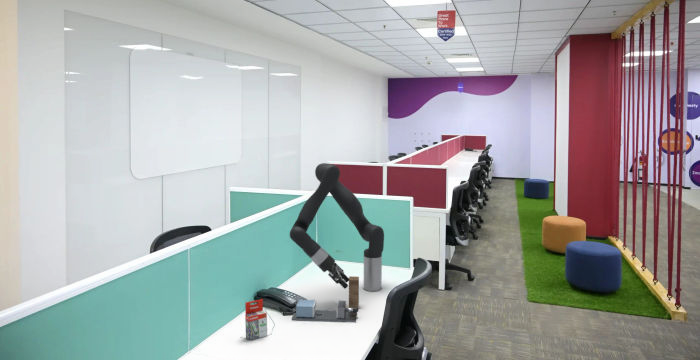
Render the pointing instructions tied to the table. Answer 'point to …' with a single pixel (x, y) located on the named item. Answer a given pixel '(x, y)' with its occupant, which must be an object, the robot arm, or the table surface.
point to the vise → (333, 314)
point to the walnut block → (353, 292)
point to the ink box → (255, 320)
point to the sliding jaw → (306, 308)
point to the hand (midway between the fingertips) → (347, 284)
